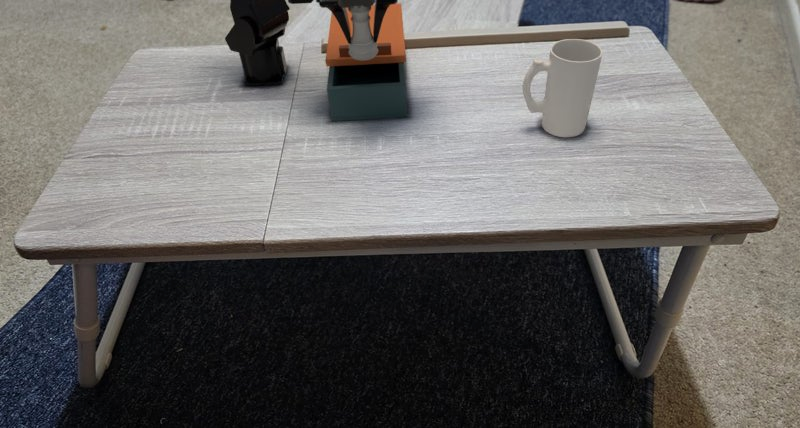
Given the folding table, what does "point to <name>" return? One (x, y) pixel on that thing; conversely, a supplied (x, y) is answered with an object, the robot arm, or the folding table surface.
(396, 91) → the bin
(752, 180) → the folding table surface
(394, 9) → the bin lid
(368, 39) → the rook chess piece
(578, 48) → the mug
